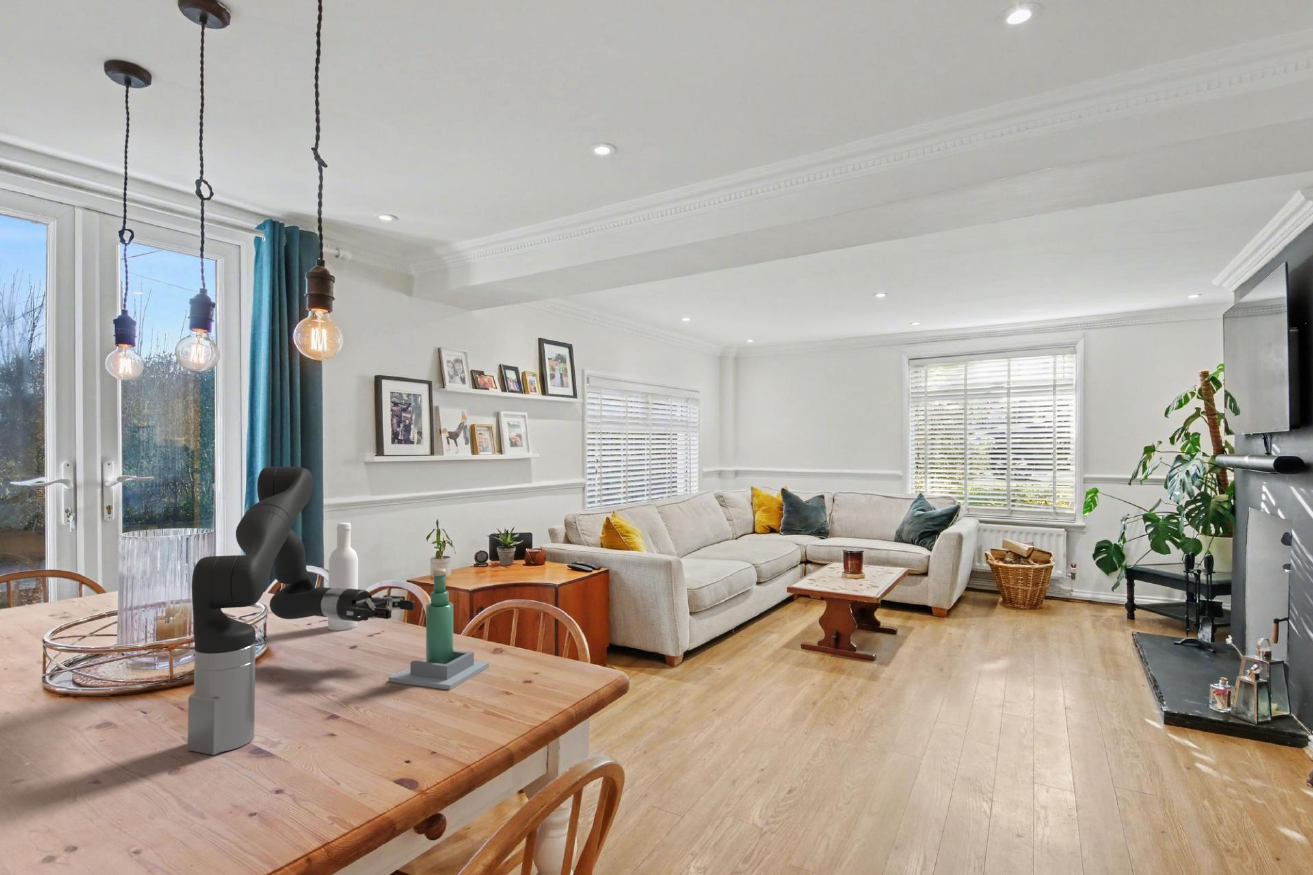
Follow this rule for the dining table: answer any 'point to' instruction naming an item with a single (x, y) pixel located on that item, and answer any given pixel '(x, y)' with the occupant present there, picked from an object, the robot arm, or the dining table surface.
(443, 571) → the bottle
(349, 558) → the bottle
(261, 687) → the dining table surface
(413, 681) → the bottle rest
